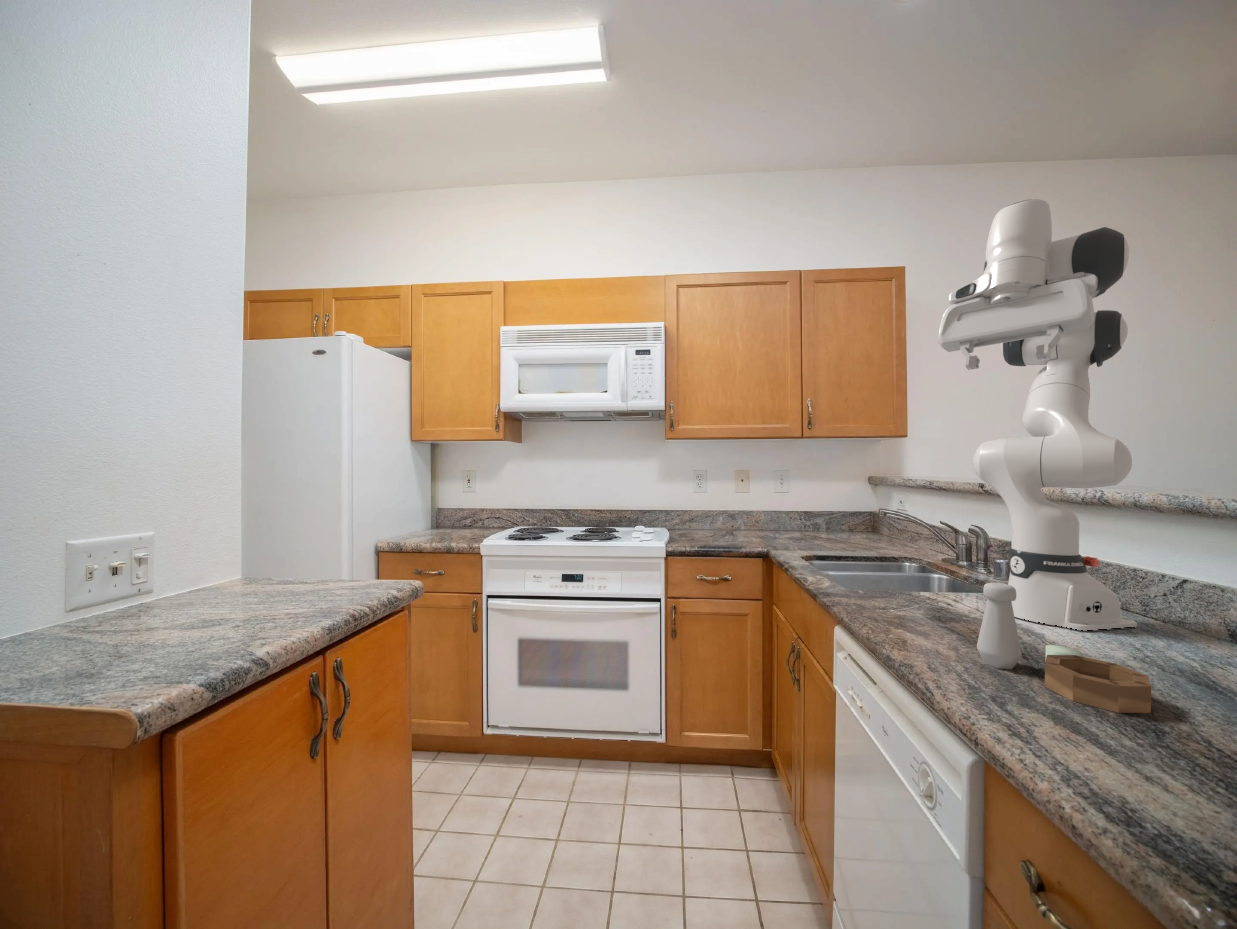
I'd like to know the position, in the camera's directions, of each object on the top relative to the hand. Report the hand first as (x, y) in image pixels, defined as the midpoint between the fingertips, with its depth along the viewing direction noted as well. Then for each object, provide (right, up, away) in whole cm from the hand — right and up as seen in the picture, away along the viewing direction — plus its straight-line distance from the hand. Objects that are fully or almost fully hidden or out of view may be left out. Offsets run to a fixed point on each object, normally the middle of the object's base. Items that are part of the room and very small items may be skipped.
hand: (1005, 363), depth 80 cm
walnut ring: (+4, -49, -11) cm, 50 cm away
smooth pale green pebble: (+8, -49, -2) cm, 50 cm away
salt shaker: (-2, -49, -1) cm, 49 cm away
